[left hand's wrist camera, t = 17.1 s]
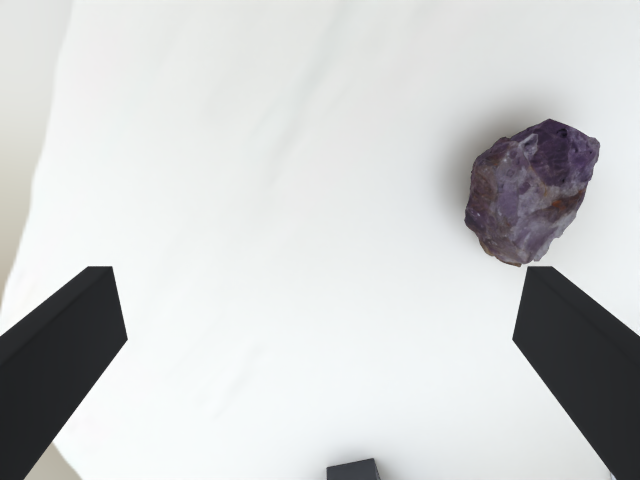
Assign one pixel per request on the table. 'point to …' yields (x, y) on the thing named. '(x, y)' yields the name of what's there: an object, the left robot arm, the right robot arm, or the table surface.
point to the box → (354, 471)
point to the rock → (529, 190)
